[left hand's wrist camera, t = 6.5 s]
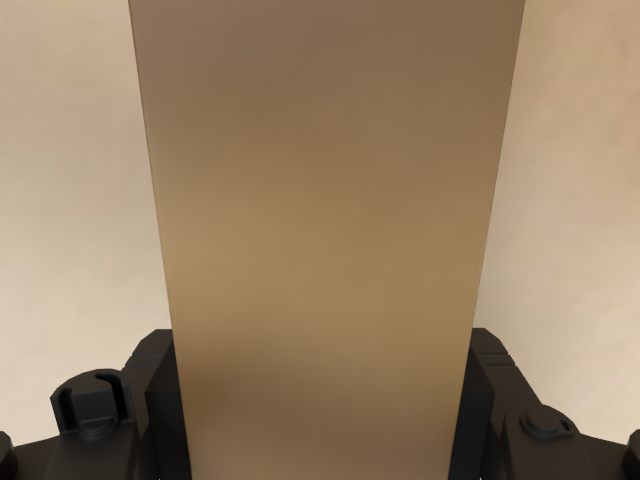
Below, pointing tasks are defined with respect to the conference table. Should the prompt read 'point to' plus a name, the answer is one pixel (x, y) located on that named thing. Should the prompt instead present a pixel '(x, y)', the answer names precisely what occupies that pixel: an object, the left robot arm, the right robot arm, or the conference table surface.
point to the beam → (323, 222)
